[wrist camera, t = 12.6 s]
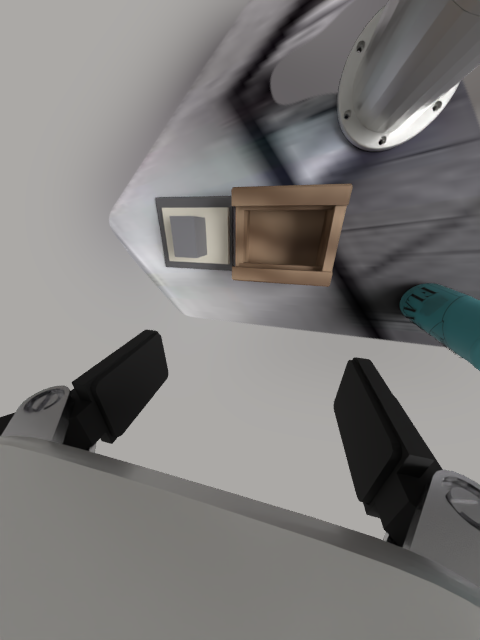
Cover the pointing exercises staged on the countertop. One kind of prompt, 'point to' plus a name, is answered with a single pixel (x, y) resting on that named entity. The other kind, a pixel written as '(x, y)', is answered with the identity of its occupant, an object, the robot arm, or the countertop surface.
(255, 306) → the countertop surface
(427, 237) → the countertop surface
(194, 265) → the charcoal mat
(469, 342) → the beverage bottle
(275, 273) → the walnut box
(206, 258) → the cover plate
